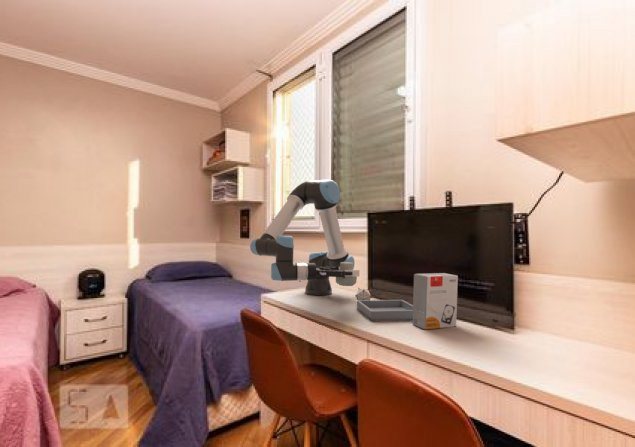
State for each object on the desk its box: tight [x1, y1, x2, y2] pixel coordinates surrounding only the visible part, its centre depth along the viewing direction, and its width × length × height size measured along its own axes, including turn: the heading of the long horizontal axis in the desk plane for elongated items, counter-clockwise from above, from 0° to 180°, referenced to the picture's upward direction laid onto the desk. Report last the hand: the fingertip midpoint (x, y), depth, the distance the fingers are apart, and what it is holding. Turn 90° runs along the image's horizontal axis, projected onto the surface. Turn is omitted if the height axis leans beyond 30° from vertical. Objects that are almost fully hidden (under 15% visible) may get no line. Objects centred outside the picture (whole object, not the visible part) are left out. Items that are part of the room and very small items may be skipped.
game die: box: [354, 287, 373, 301], centre depth 165 cm, size 9×8×10 cm
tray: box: [356, 299, 413, 322], centre depth 148 cm, size 20×22×4 cm
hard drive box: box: [411, 272, 459, 330], centre depth 132 cm, size 16×8×20 cm, turn 112°
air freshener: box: [335, 262, 358, 287], centre depth 152 cm, size 11×8×10 cm
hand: (355, 271), depth 152 cm, fingers closed on air freshener, 10 cm apart
